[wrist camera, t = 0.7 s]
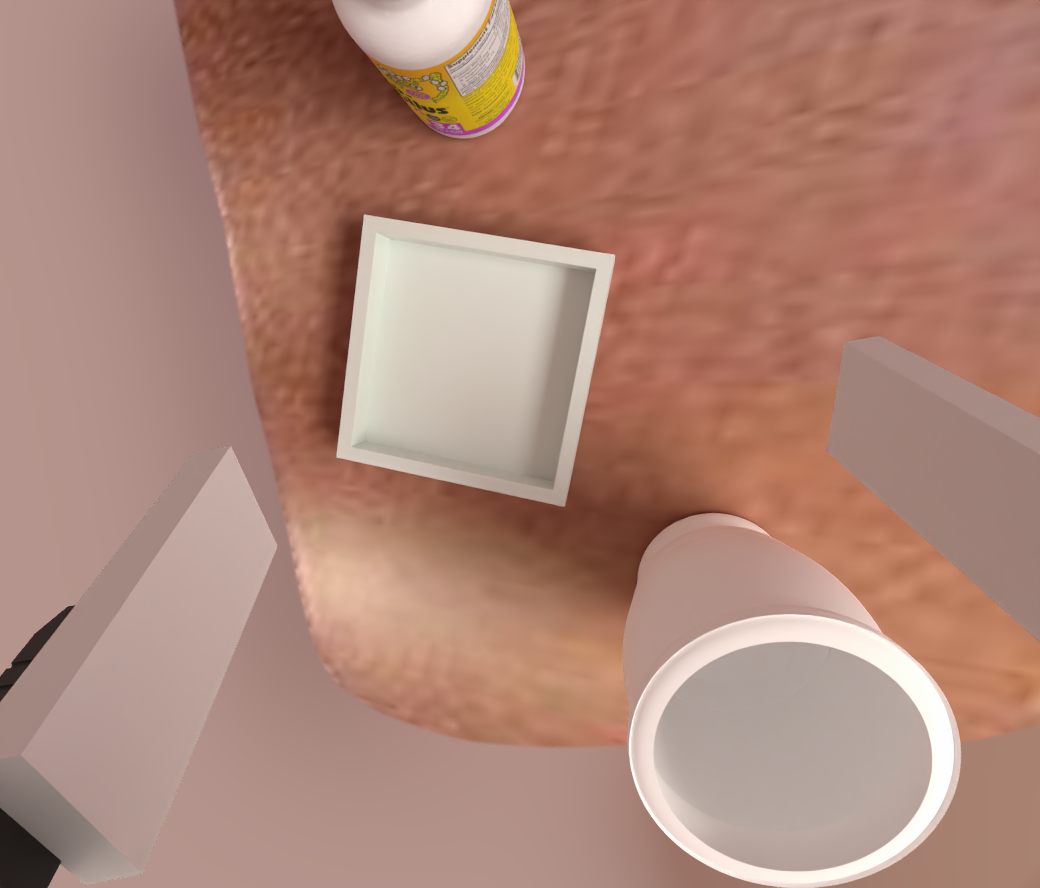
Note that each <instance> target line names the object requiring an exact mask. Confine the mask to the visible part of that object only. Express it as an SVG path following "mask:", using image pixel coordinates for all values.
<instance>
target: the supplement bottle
mask: <svg viewBox="0 0 1040 888" xmlns="http://www.w3.org/2000/svg"><path fill="white" fill-rule="evenodd" d="M332 2H333V4H334V7H335V10H336V12H337V14H338V16H339V18H340V20H341V22H342V24H343V26H344V27H345V29H346V30H347V32H348V33H349V35H350V36H351V37H352V38H353V40H354V41H355V42H356V43H357V45H358V46H359V47H360V48H361V49H362V50H363V51H364V53H365V54H366V55H367V56H368V57H369V59H370V60H371V61H372V62H373V63H374V65H375V66H376V67H377V68H378V69H379V71H380V72H381V73H382V74H383V76H384V77H385V78H386V79H387V80H388V81H389V83H390V84H391V85H392V86H393V87H394V88H395V90H396V91H397V92H398V93H399V94H400V96H401V97H402V98H403V99H404V100H405V102H406V103H407V104H408V105H409V106H410V107H411V109H412V110H413V111H414V112H415V113H416V115H417V116H418V117H419V118H420V119H421V120H422V121H423V122H424V123H425V124H426V125H428V126H429V127H430V128H431V129H433V130H435V131H436V132H438V133H440V134H442V135H445V136H448V137H452V138H461V139H465V138H474V137H478V136H481V135H484V134H486V133H488V132H490V131H491V130H493V129H495V128H496V127H497V126H499V125H500V124H501V123H502V122H503V121H504V120H505V119H506V118H507V116H508V115H509V114H510V112H511V111H512V109H513V108H514V106H515V104H516V103H517V101H518V98H519V96H520V93H521V90H522V86H523V82H524V75H525V60H524V53H523V48H522V43H521V40H520V36H519V33H518V29H517V25H516V22H515V19H514V16H513V12H512V9H511V6H510V2H509V0H332Z"/></svg>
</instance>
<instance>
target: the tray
mask: <svg viewBox="0 0 1040 888" xmlns="http://www.w3.org/2000/svg"><path fill="white" fill-rule="evenodd" d="M614 263H615V255H612V254H606V253H600V252H593V251H587V250H581V249H575V248H569V247H562V246H556V245H550V244H544V243H537V242H531V241H525V240H519V239H513V238H506V237H500V236H494V235H488V234H482V233H475V232H469V231H463V230H457V229H451V228H444V227H438V226H432V225H426V224H419V223H413V222H407V221H401V220H395V219H388V218H382V217H376V216H370V215H364V219H363V228H362V237H361V246H360V254H359V263H358V272H357V281H356V290H355V298H354V307H353V316H352V325H351V334H350V342H349V351H348V360H347V369H346V377H345V386H344V395H343V404H342V413H341V421H340V430H339V439H338V448H337V456H336V457H337V458H342V459H346V460H351V461H355V462H360V463H365V464H369V465H374V466H378V467H383V468H388V469H392V470H397V471H401V472H406V473H411V474H415V475H420V476H424V477H429V478H434V479H438V480H443V481H448V482H452V483H457V484H461V485H466V486H471V487H475V488H480V489H484V490H489V491H494V492H498V493H503V494H507V495H512V496H517V497H521V498H526V499H530V500H535V501H540V502H544V503H549V504H553V505H558V506H563V507H565V503H566V500H567V496H568V492H569V487H570V482H571V477H572V472H573V467H574V462H575V457H576V452H577V447H578V442H579V437H580V432H581V427H582V422H583V417H584V412H585V407H586V402H587V397H588V392H589V387H590V382H591V377H592V372H593V368H594V363H595V358H596V353H597V348H598V343H599V338H600V333H601V328H602V323H603V318H604V313H605V308H606V303H607V298H608V293H609V288H610V283H611V278H612V273H613V268H614Z"/></svg>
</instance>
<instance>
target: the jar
mask: <svg viewBox="0 0 1040 888" xmlns="http://www.w3.org/2000/svg"><path fill="white" fill-rule="evenodd" d="M623 673H624V682H625V688H626V694H627V699H628V703H629V707H630V714H629V720H628V729H627V747H628V755H629V762H630V766H631V770H632V774H633V779H634V781H635V785H636V788H637V790H638V793H639V795H640V797H641V799H642V801H643V803H644V805H645V807H646V809H647V810H648V812H649V813H650V815H651V816H652V818H653V819H654V821H655V822H656V823H657V824H658V826H659V827H660V828H661V829H662V830H663V831H664V832H665V833H666V835H667V836H668V837H670V839H671V840H673V841H674V842H675V843H676V844H677V845H678V846H679V847H681V848H682V849H683V850H684V851H686V852H687V853H689V854H690V855H692V856H693V857H694V858H696V859H698V860H699V861H701V862H703V863H704V864H706V865H708V866H710V867H712V868H714V869H716V870H718V871H720V872H723V873H725V874H728V875H730V876H733V877H736V878H739V879H742V880H745V881H750V882H753V883H758V884H763V885H769V886H775V887H786V888H814V887H824V886H831V885H837V884H842V883H846V882H850V881H854V880H857V879H860V878H863V877H866V876H869V875H871V874H874V873H876V872H878V871H880V870H883V869H885V868H886V867H888V866H890V865H892V864H894V863H895V862H897V861H899V860H900V859H902V858H903V857H905V856H906V855H907V854H909V853H910V852H911V851H913V850H914V849H915V848H916V847H917V846H919V845H920V844H921V843H922V842H923V841H924V840H925V839H926V838H927V837H928V836H929V834H930V833H931V832H932V831H933V830H934V829H935V827H936V826H937V825H938V823H939V822H940V821H941V819H942V817H943V816H944V814H945V813H946V811H947V809H948V807H949V805H950V803H951V801H952V798H953V796H954V793H955V790H956V786H957V783H958V779H959V773H960V765H961V745H960V737H959V731H958V727H957V723H956V720H955V717H954V714H953V712H952V709H951V707H950V705H949V703H948V701H947V699H946V697H945V695H944V694H943V692H942V690H941V689H940V687H939V686H938V684H937V683H936V682H935V680H934V679H933V678H932V677H931V675H930V674H929V673H928V672H927V671H926V670H925V669H924V668H923V667H922V666H921V665H920V664H919V663H918V662H917V661H916V660H915V659H914V658H913V657H912V656H911V655H910V654H909V653H907V652H906V651H905V650H904V649H903V648H902V647H900V646H899V645H898V644H897V643H895V642H894V641H893V640H891V639H890V638H888V637H887V636H886V635H884V634H882V632H881V630H880V629H879V627H878V626H877V624H876V623H875V621H874V620H873V618H872V617H871V616H870V614H869V613H868V612H867V610H866V609H865V608H864V607H863V605H862V604H861V603H860V602H859V601H858V599H857V598H856V597H855V596H854V595H853V594H852V593H851V592H850V591H849V590H848V589H847V588H846V587H845V586H844V585H843V584H842V583H841V582H840V581H839V580H838V579H837V578H836V577H835V576H833V575H832V574H831V573H830V572H828V571H827V570H826V569H825V568H823V567H822V566H821V565H819V564H818V563H816V562H815V561H813V560H812V559H810V558H809V557H807V556H805V555H804V554H802V553H800V552H798V551H797V550H795V549H793V548H791V547H789V546H787V545H786V544H784V543H782V542H781V541H779V540H777V539H775V538H773V537H771V536H770V535H769V534H768V533H766V532H765V531H764V530H763V529H762V528H760V527H759V526H757V525H755V524H754V523H752V522H750V521H748V520H746V519H743V518H740V517H737V516H733V515H729V514H722V513H705V514H698V515H693V516H690V517H687V518H684V519H681V520H679V521H677V522H675V523H673V524H671V525H670V526H668V527H667V528H665V529H664V530H663V531H661V532H660V533H659V534H658V535H657V536H656V537H655V538H654V539H653V540H652V542H651V543H650V544H649V546H648V547H647V549H646V551H645V552H644V555H643V557H642V559H641V562H640V565H639V570H638V579H637V586H636V589H635V592H634V595H633V599H632V603H631V606H630V609H629V612H628V616H627V620H626V625H625V631H624V639H623Z"/></svg>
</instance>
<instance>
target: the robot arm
mask: <svg viewBox="0 0 1040 888" xmlns="http://www.w3.org/2000/svg"><path fill="white" fill-rule="evenodd" d="M827 452H828V453H829V454H830V455H831V456H832V457H833V458H835V459H836V460H837V461H838V462H839V463H840V464H841V465H842V466H844V467H845V468H846V469H847V470H848V471H849V472H850V473H851V474H852V475H854V476H855V477H856V478H857V479H858V480H859V481H860V482H861V483H863V484H864V485H865V486H866V487H867V488H868V489H869V490H870V491H871V492H873V493H874V494H875V495H876V496H877V497H878V498H879V499H880V500H881V501H883V502H884V503H885V504H886V505H887V506H888V507H889V508H890V509H892V510H893V511H894V512H895V513H896V514H897V515H898V516H899V517H900V518H902V519H903V520H904V521H905V522H906V523H907V524H908V525H909V526H910V527H912V528H913V529H914V530H915V531H916V532H917V533H918V534H919V535H921V536H922V537H923V538H924V539H925V540H926V541H927V542H928V543H929V544H931V545H932V546H933V547H934V548H935V549H936V550H937V551H938V552H939V553H941V554H942V555H943V556H944V557H945V558H946V559H947V560H948V561H950V562H951V563H952V564H953V565H954V566H955V567H956V568H957V569H958V570H960V571H961V572H962V573H963V574H964V575H965V576H966V577H967V578H969V579H970V580H971V581H972V582H973V583H974V584H975V585H976V586H977V587H979V588H980V589H981V590H982V591H983V592H984V593H985V594H986V595H987V596H989V597H990V598H991V599H992V600H993V601H994V602H995V603H996V604H998V605H999V606H1000V607H1001V608H1002V609H1003V610H1004V611H1005V612H1006V613H1008V614H1009V615H1010V616H1011V617H1012V618H1013V619H1014V620H1015V621H1016V622H1018V623H1019V624H1020V625H1021V626H1022V627H1023V628H1024V629H1025V630H1027V631H1028V632H1029V633H1030V634H1031V635H1032V636H1033V637H1034V638H1035V639H1037V640H1038V641H1039V642H1040V418H1038V417H1037V416H1035V415H1033V414H1031V413H1029V412H1027V411H1025V410H1023V409H1021V408H1019V407H1017V406H1015V405H1013V404H1011V403H1009V402H1007V401H1005V400H1003V399H1001V398H1000V397H998V396H996V395H994V394H992V393H990V392H988V391H986V390H984V389H982V388H980V387H978V386H976V385H974V384H972V383H970V382H968V381H966V380H964V379H963V378H961V377H959V376H957V375H955V374H953V373H951V372H949V371H947V370H945V369H943V368H941V367H939V366H937V365H935V364H933V363H931V362H929V361H927V360H926V359H924V358H922V357H920V356H918V355H916V354H914V353H912V352H910V351H908V350H906V349H904V348H902V347H900V346H898V345H896V344H894V343H892V342H890V341H889V340H887V339H885V338H883V337H881V336H877V337H871V338H865V339H859V340H853V341H847V342H845V343H844V349H843V355H842V361H841V367H840V373H839V379H838V385H837V391H836V397H835V403H834V409H833V416H832V422H831V428H830V434H829V440H828V446H827ZM276 549H277V544H276V542H275V540H274V537H273V535H272V533H271V531H270V529H269V527H268V525H267V522H266V520H265V518H264V516H263V514H262V512H261V510H260V508H259V505H258V503H257V501H256V499H255V497H254V495H253V492H252V490H251V488H250V486H249V484H248V482H247V480H246V477H245V476H244V473H243V471H242V469H241V467H240V464H239V462H238V460H237V458H236V456H235V454H234V452H233V449H232V447H231V446H227V447H221V448H215V449H210V450H203V451H197V452H194V453H193V454H192V456H191V457H190V458H189V459H188V461H187V462H186V463H185V465H184V466H183V467H182V468H181V470H180V471H179V472H178V474H177V475H176V476H175V477H174V479H173V480H172V481H171V483H170V484H169V485H168V487H167V488H166V489H165V490H164V492H163V493H162V494H161V495H160V497H159V498H158V500H157V501H156V502H155V503H154V505H153V506H152V507H151V508H150V510H149V511H148V512H147V514H146V515H145V516H144V517H143V519H142V520H141V521H140V523H139V524H138V525H137V526H136V528H135V529H134V530H133V532H132V533H131V534H130V535H129V537H128V538H127V540H126V541H125V542H124V543H123V545H122V546H121V547H120V548H119V550H118V551H117V552H116V554H115V555H114V556H113V558H112V559H111V560H110V561H109V563H108V564H107V565H106V566H105V568H104V569H103V570H102V572H101V573H100V574H99V575H98V577H97V578H96V579H95V581H94V582H93V583H92V584H91V586H90V587H89V588H88V590H87V591H86V592H85V594H84V595H83V596H82V597H81V599H80V600H79V601H78V603H77V604H76V605H74V606H69V607H67V608H66V609H65V610H63V611H62V612H61V613H59V614H58V615H57V616H56V617H55V618H53V619H52V620H51V621H50V622H49V623H47V624H46V625H45V626H44V627H43V628H41V629H40V630H39V631H38V632H37V633H35V634H34V636H33V637H32V638H31V639H30V641H29V642H28V643H27V644H26V646H25V647H24V648H23V649H22V651H21V652H20V653H19V654H18V655H17V657H16V658H15V659H14V660H13V662H12V667H11V668H9V669H6V670H5V671H4V673H3V674H2V675H1V676H0V888H47V887H48V886H49V884H50V882H51V880H52V878H53V876H54V874H55V872H56V870H57V869H58V867H59V865H60V864H61V865H63V866H64V867H65V868H66V869H67V870H68V871H69V872H71V873H72V874H73V875H74V876H75V877H76V878H77V879H79V880H80V881H81V882H82V883H83V884H84V885H87V884H92V883H98V882H103V881H109V880H114V879H120V878H125V877H130V876H136V875H141V874H143V873H144V870H145V868H146V865H147V863H148V860H149V858H150V855H151V853H152V851H153V848H154V846H155V843H156V841H157V838H158V836H159V834H160V831H161V829H162V826H163V824H164V821H165V819H166V817H167V814H168V811H169V809H170V806H171V804H172V802H173V799H174V797H175V795H176V792H177V790H178V787H179V785H180V782H181V780H182V778H183V775H184V773H185V770H186V768H187V765H188V763H189V760H190V758H191V756H192V753H193V750H194V748H195V746H196V743H197V741H198V739H199V736H200V734H201V731H202V729H203V726H204V724H205V721H206V719H207V717H208V714H209V712H210V709H211V707H212V704H213V702H214V700H215V697H216V695H217V692H218V690H219V687H220V685H221V683H222V680H223V678H224V675H225V673H226V670H227V668H228V665H229V663H230V661H231V658H232V656H233V653H234V651H235V649H236V646H237V644H238V641H239V639H240V636H241V633H242V632H243V629H244V627H245V624H246V622H247V619H248V616H249V614H250V612H251V610H252V607H253V605H254V602H255V600H256V597H257V595H258V592H259V590H260V588H261V585H262V583H263V580H264V578H265V575H266V573H267V571H268V568H269V566H270V563H271V561H272V558H273V556H274V554H275V551H276Z"/></svg>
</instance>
